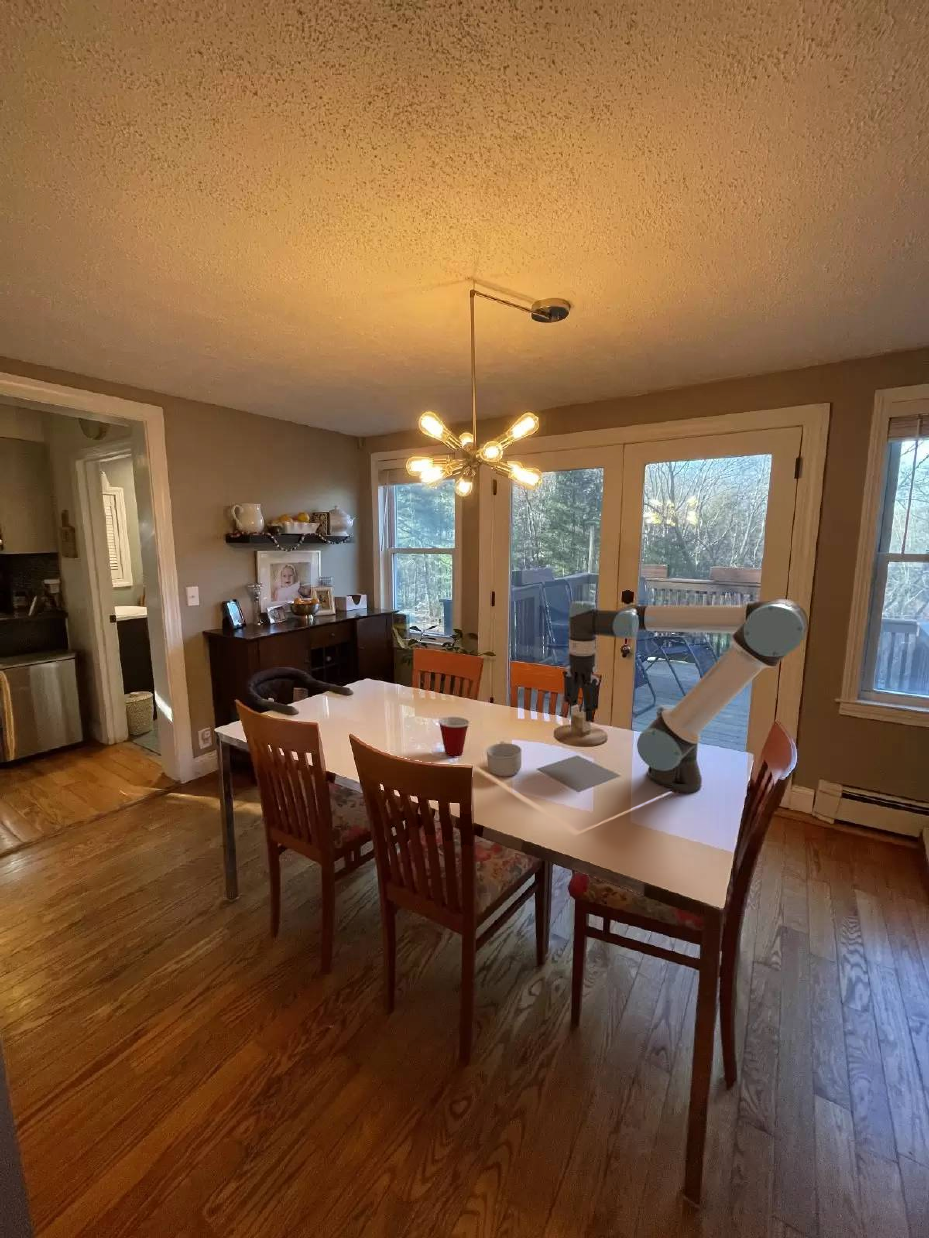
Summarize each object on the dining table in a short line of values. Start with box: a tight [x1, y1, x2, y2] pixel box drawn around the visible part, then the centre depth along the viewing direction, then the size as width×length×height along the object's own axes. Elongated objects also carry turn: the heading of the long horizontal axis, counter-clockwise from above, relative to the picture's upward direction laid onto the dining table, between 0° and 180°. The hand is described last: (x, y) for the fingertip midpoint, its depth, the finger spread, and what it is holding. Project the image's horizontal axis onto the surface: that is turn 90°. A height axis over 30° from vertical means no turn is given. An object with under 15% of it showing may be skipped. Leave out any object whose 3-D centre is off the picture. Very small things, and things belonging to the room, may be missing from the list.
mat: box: [536, 755, 621, 793], centre depth 159 cm, size 18×18×1 cm
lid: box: [553, 711, 609, 748], centre depth 157 cm, size 16×16×7 cm
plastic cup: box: [437, 716, 471, 758], centre depth 175 cm, size 11×11×12 cm
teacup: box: [486, 740, 523, 777], centre depth 162 cm, size 14×11×8 cm
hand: (580, 728), depth 157 cm, fingers closed on lid, 4 cm apart
